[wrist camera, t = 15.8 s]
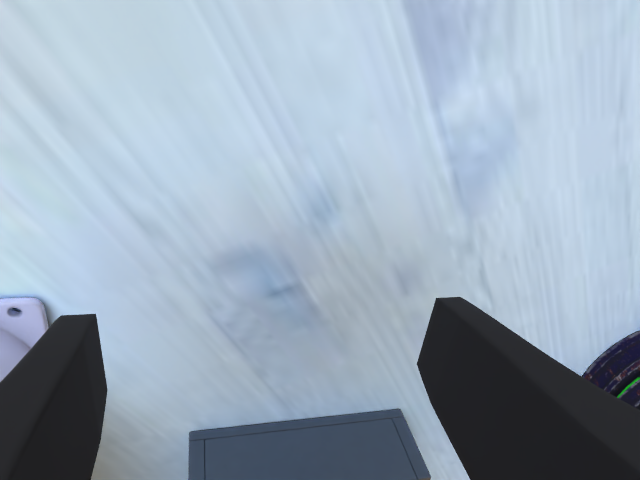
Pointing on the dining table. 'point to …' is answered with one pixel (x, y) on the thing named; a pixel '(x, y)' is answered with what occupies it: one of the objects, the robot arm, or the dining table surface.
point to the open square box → (310, 450)
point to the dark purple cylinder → (619, 370)
